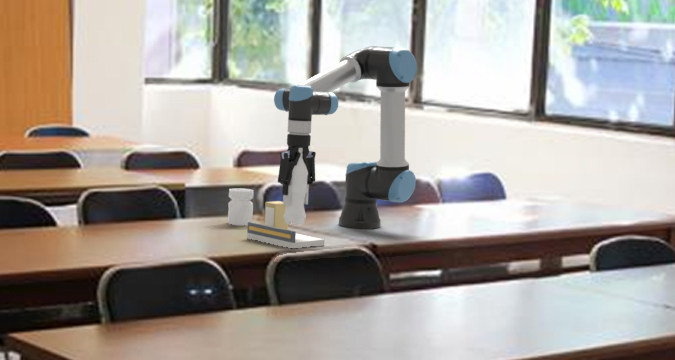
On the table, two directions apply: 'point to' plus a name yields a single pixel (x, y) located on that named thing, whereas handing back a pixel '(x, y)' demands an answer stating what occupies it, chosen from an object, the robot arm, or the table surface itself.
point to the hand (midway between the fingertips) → (295, 204)
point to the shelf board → (281, 236)
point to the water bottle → (297, 194)
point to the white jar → (240, 206)
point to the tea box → (275, 214)
